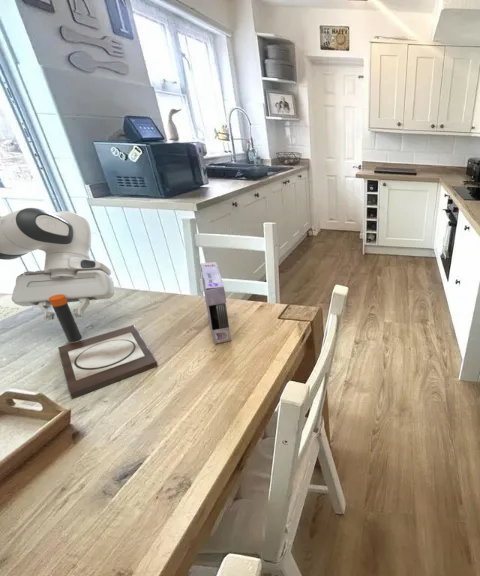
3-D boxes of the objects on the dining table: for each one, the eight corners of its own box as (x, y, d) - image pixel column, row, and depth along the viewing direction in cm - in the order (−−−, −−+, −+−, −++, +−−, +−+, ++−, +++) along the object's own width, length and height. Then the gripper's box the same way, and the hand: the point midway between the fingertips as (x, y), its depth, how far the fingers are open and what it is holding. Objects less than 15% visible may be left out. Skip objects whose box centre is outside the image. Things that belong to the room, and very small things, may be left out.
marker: (65, 343, 86) (46, 300, 80) (70, 336, 89) (52, 294, 83) (79, 341, 87) (61, 298, 81) (84, 335, 90) (66, 293, 84)
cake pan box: (234, 342, 91) (224, 286, 83) (214, 347, 88) (202, 289, 80) (225, 311, 105) (215, 260, 97) (207, 314, 103) (197, 263, 95)
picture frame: (60, 352, 83) (57, 346, 82) (135, 329, 94) (133, 323, 93) (72, 398, 70) (69, 392, 69) (158, 366, 80) (156, 360, 80)
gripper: (8, 267, 82) (1, 320, 78) (107, 261, 89) (105, 309, 85) (26, 276, 87) (20, 326, 83) (117, 270, 94) (116, 315, 90)
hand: (63, 317), depth 84 cm, fingers open, 5 cm apart
